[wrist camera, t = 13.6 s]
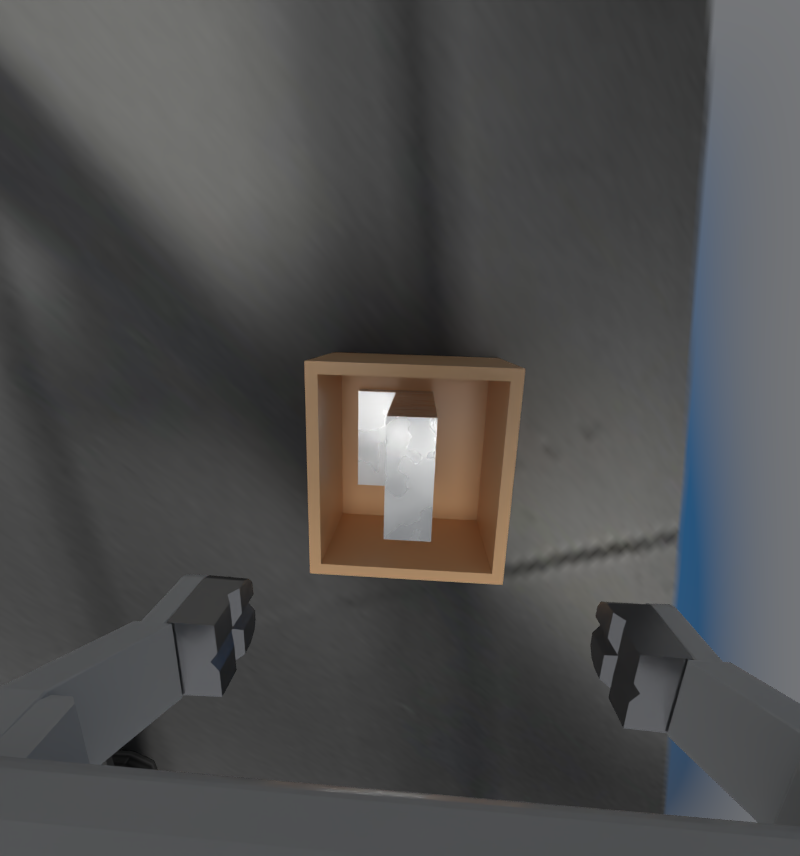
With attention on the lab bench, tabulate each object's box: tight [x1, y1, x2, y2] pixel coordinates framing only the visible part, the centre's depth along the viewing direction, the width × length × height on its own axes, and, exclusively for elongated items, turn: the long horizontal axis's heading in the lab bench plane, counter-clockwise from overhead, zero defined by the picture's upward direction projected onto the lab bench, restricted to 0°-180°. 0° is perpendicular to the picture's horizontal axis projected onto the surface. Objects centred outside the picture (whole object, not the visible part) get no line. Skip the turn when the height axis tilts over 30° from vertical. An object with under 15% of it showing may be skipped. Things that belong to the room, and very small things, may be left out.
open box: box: [304, 352, 525, 585], centre depth 31 cm, size 15×14×9 cm
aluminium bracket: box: [358, 389, 438, 542], centre depth 29 cm, size 8×6×10 cm
